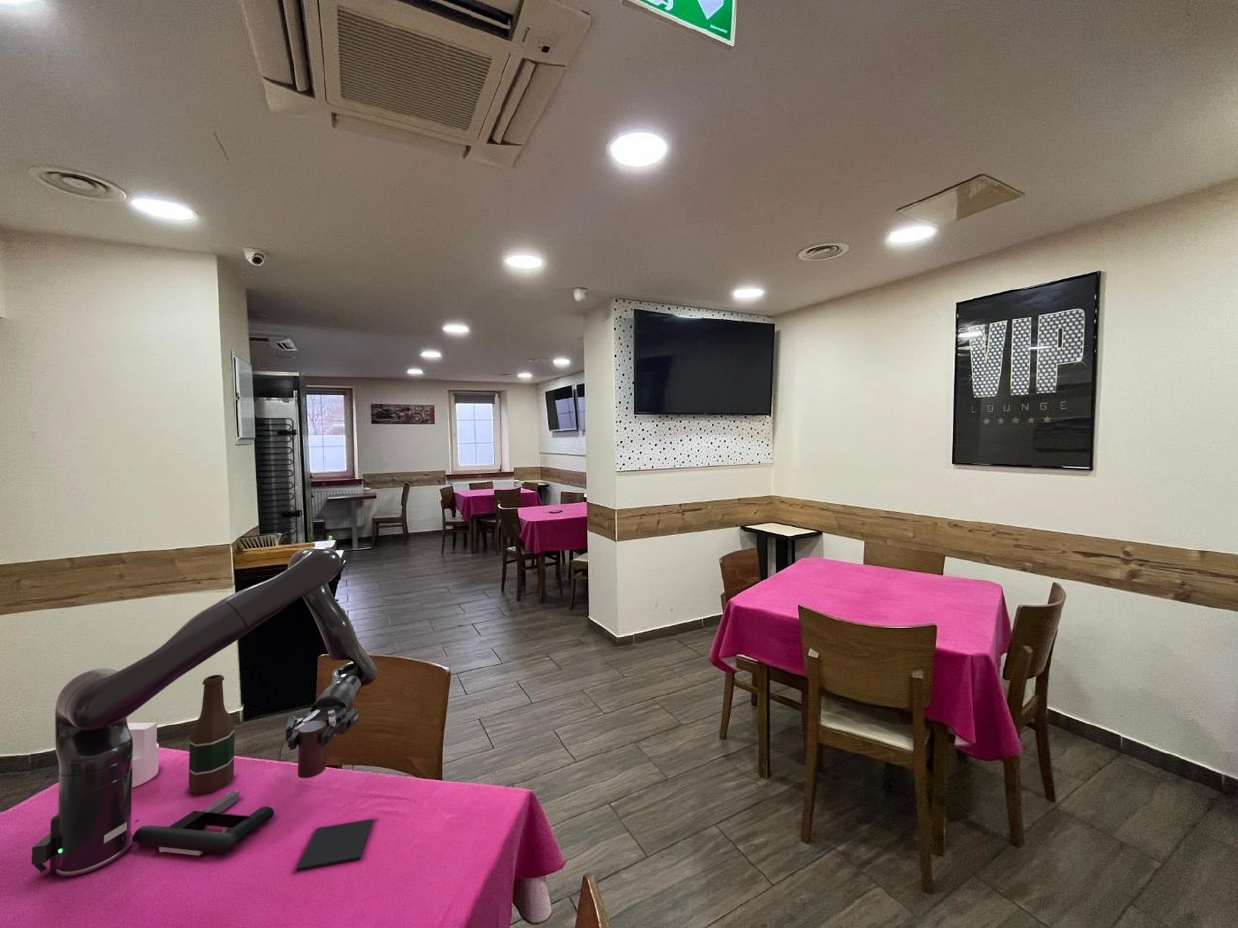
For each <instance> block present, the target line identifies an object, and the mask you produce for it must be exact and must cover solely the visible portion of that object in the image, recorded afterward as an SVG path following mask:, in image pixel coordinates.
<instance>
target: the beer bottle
mask: <svg viewBox="0 0 1238 928" xmlns="http://www.w3.org/2000/svg"><path fill="white" fill-rule="evenodd" d="M224 680H225V677H224V675H222V674H213V675H210V676H207V677H205V678H204V679H203V681H202V685H203V693H202V705H201V711H200V715H199V717H198V719H197V720H196V721H195V722H194V723H193V726H192V728H191V731H190V733H189V746H188V749H189V750H188V752H189V753H188V754H189V755H188V756H189V758H188V789H189V792H191V793H192V794H194V795H195V796H199V795H204V794H212V793H213V792H216V791H218V790H220V789H222V788H224V787H226V786H228V784H229V783H230V781H231V780H232V779H233V777H234V772H235V721H234V719H233V717H232V715H231V714H230V713H229V712H228V711H227V710H226V707H225V700H224V684H223V683H224V682H223V681H224Z"/></svg>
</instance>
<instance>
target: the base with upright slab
mask: <svg viewBox="0 0 1238 928" xmlns="http://www.w3.org/2000/svg"><path fill="white" fill-rule="evenodd" d="M127 724H128V728H129V730H130V733H131V735H132V738H133V766H132V767H133V770H132V789H133V788H135V787H138V786H140V785H143V784H145V783H147V782H148V781H150V780H152V779H153V778H154V777H156V776H157V775H158V773H159V761H160V759H159V757H160V754H159V753H160V745H159V742H157V741H158V722H127Z"/></svg>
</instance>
